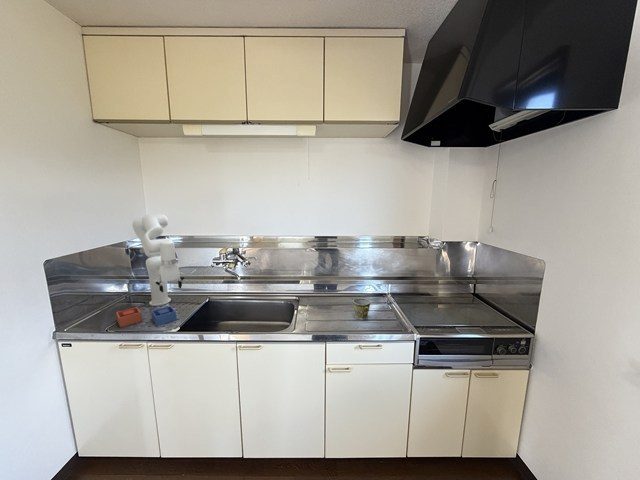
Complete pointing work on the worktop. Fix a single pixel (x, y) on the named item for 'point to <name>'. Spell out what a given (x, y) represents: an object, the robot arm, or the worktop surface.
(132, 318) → the red bin
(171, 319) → the blue bin
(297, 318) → the worktop surface
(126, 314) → the red block
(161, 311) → the blue block
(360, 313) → the ceramic cup
